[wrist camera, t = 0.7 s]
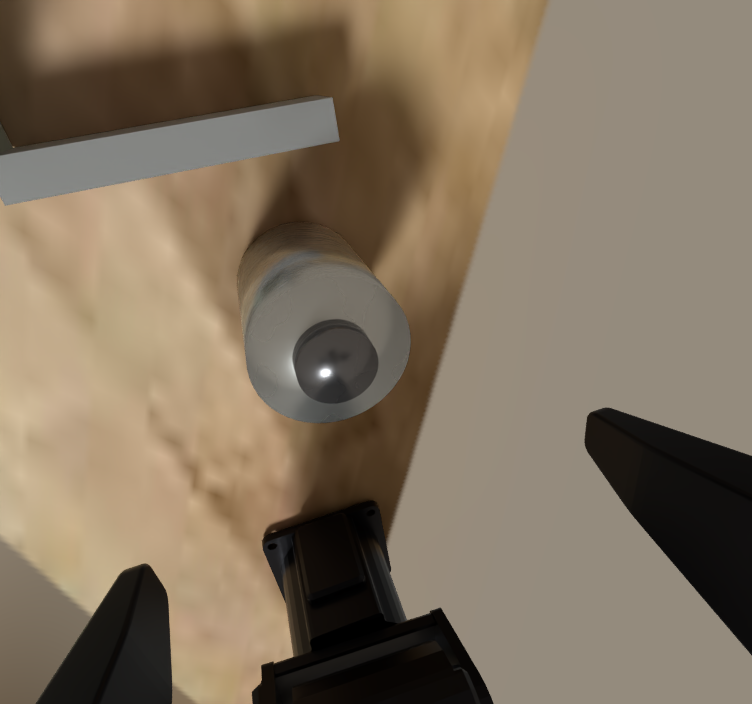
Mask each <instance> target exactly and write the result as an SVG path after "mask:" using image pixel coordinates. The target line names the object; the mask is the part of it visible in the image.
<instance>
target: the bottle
mask: <svg viewBox="0 0 752 704" xmlns="http://www.w3.org/2000/svg"><path fill="white" fill-rule="evenodd" d="M237 290H238V299H239V307H240V315H241V323H242V331H243V339H244V347H245V355H246V363H247V370H248V374H249V378H250V380H251V383H252V385H253V387H254V389H255V390H256V392H257V394H258V395H259V396H260V397H261V399H262V400H263V401H264V402H265V403H266V404H267V405H269V406H270V407H271V408H272V409H274V410H275V411H277V412H278V413H280V414H282V415H284V416H286V417H289V418H292V419H295V420H298V421H303V422H310V423H328V422H336V421H340V420H344V419H348V418H350V417H353V416H356V415H358V414H360V413H362V412H364V411H366V410H368V409H369V408H371V407H373V406H374V405H375V404H377V403H378V402H379V401H381V400H382V399H383V398H384V397H385V396H386V395H387V394H388V393H389V392H390V391H391V390H392V389H393V387H394V386H395V385H396V383H397V382H398V380H399V379H400V377H401V375H402V373H403V372H404V370H405V367H406V364H407V362H408V358H409V353H410V345H411V337H410V329H409V324H408V322H407V319H406V316H405V314H404V312H403V310H402V308H401V307H400V306H399V304H398V303H397V302H396V300H395V299H394V298H393V297H392V295H391V294H390V293H389V292H388V291H387V289H386V288H385V287H384V286H383V285H382V284H381V282H380V281H379V280H378V279H377V278H376V276H375V275H374V274H373V273H372V272H371V270H370V269H369V268H368V267H367V266H366V264H365V263H364V262H363V261H362V260H361V258H360V257H359V256H358V255H357V254H356V252H355V251H354V250H353V249H352V248H351V246H350V245H349V244H348V243H347V242H346V241H345V240H344V239H343V238H342V237H341V236H340V235H338V234H337V233H336V232H334V231H333V230H331V229H329V228H327V227H324V226H322V225H319V224H315V223H309V222H292V223H286V224H283V225H279V226H277V227H274V228H272V229H270V230H268V231H267V232H265V233H263V234H262V235H261V236H259V237H258V238H257V239H256V240H255V241H254V242H253V243H252V244H251V245H250V247H249V248H248V249H247V251H246V252H245V254H244V256H243V258H242V260H241V263H240V266H239V269H238V274H237Z"/></svg>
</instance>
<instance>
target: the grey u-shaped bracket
mask: <svg viewBox="0 0 752 704" xmlns="http://www.w3.org/2000/svg"><path fill="white" fill-rule="evenodd" d="M337 141H340V140H339V134H338V128H337V122H336V116H335V110H334V104H333V97H326V96H319V95H315V96H310V97H304V98H298V99H292V100H286V101H281V102H275V103H269V104H263V105H258V106H252V107H246V108H240V109H235V110H229V111H223V112H217V113H211V114H206V115H200V116H194V117H188V118H183V119H177V120H171V121H165V122H160V123H154V124H148V125H142V126H136V127H131V128H125V129H119V130H113V131H108V132H102V133H96V134H90V135H85V136H79V137H73V138H67V139H61V140H56V141H50V142H44V143H38V144H33V145H27V146H21V147H15V148H13V146H12V144H11V143H10V141H9V139H8V137H7V135H6V133H5V131H4V129H3V127H2V125H1V123H0V197H1V199H2V201H3V203H4V205H5V206H6V205H11V204H16V203H21V202H26V201H31V200H37V199H42V198H47V197H52V196H57V195H63V194H68V193H73V192H78V191H83V190H88V189H94V188H99V187H104V186H109V185H114V184H120V183H125V182H130V181H135V180H140V179H146V178H151V177H156V176H161V175H166V174H171V173H177V172H182V171H187V170H192V169H197V168H203V167H208V166H213V165H218V164H223V163H228V162H234V161H239V160H244V159H249V158H254V157H260V156H265V155H270V154H275V153H280V152H286V151H291V150H296V149H301V148H306V147H311V146H317V145H322V144H327V143H332V142H337Z"/></svg>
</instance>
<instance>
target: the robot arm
mask: <svg viewBox="0 0 752 704" xmlns="http://www.w3.org/2000/svg"><path fill="white" fill-rule="evenodd" d="M585 447H586V449H587V452H588V453H589V455H590V456H591V458H592V459H593V460H594V462H595V463H596V465H597V466H598V468H599V469H600V471H601V472H602V473H603V475H604V476H605V478H606V479H607V480H608V482H609V483H610V485H611V486H612V488H613V489H614V491H615V492H616V493H617V495H618V496H619V498H620V499H621V501H622V502H623V503H624V505H625V506H626V507H627V509H628V510H629V512H630V513H631V514H632V515H633V517H634V518H635V519H636V520H637V521H638V522H639V524H640V525H641V526H642V527H643V528H644V530H645V531H646V532H647V533H648V534H649V536H650V537H651V538H652V539H653V540H654V541H655V543H656V544H657V545H658V546H659V547H660V548H661V550H662V551H663V552H664V553H665V554H666V555H667V557H668V558H669V559H670V560H671V561H672V562H673V564H674V565H675V566H676V567H677V568H678V570H679V571H680V572H681V573H682V574H683V575H684V577H685V578H686V579H687V580H688V581H689V582H690V584H691V585H692V586H693V587H694V588H695V589H696V591H697V592H698V593H699V594H700V595H701V596H702V598H703V599H704V600H705V601H706V602H707V604H708V605H709V606H710V607H711V608H712V609H713V611H714V612H715V613H716V614H717V615H718V616H719V617H720V619H721V620H722V621H723V622H724V623H725V625H726V626H727V627H728V628H729V629H730V630H731V631H732V633H733V634H734V635H735V636H736V637H737V639H738V640H739V641H740V642H741V643H742V645H743V646H744V647H745V648H746V649H747V650H748V651H749V653H750V654H751V655H752V456H750V455H747V454H745V453H741V452H738V451H736V450H733V449H730V448H727V447H724V446H721V445H718V444H715V443H712V442H709V441H706V440H703V439H700V438H697V437H694V436H691V435H689V434H685V433H683V432H680V431H677V430H673V429H671V428H668V427H665V426H662V425H659V424H656V423H653V422H650V421H647V420H644V419H641V418H638V417H635V416H632V415H629V414H627V413H624V412H620V411H618V410H614V409H612V408H602V409H599V410H596V411H593V412H591V413H590V414H589V415H588V417H587V423H586V432H585ZM271 543H273V544H271ZM262 545H263V551H264V553H265V556H266V558H267V560H268V563H269V565H270V567H271V570H272V572H273V574H274V577H275V579H276V581H277V584H278V586H279V588H280V591H281V593H282V596H283V598H284V600H285V603H286V607H287V614H288V621H289V628H290V635H291V642H292V649H293V656H294V657H292V658H289V659H286V660H283V661H280V662H277V663H274V662H270V663H266V664H263V665H261V670H262V681H261V684H260V685H258V686H257V687H256V688H255V689H254V690H253V691H252V701H253V704H493V701H492V698H491V696H490V694H489V691H488V690H487V687H486V685H485V683H484V681H483V679H482V677H481V675H480V673H479V672H478V670H477V668H476V667H475V665H474V663H473V662H472V660H471V658H470V657H469V655H468V653H467V651H466V650H465V648H464V646H463V645H462V643H461V641H460V640H459V638H458V636H457V634H456V633H455V631H454V629H453V628H452V626H451V624H450V623H449V621H448V619H447V618H446V616H445V614H444V613H443V611H442V609H441V608H438V609H435V610H432V611H430V613H429V614H426V615H423V616H420V617H416V618H414V619H410V620H407V619H406V616H405V614H404V611H403V608H402V606H401V603H400V600H399V597H398V594H397V592H396V589H395V586H394V583H393V580H392V578H391V575H390V572H391V566H390V561H389V556H388V551H387V546H386V541H385V536H384V531H383V526H382V521H381V516H380V510H379V508H378V505H377V503H376V502H375V501H367V502H364V503H361V504H358V505H355V506H352V507H349V508H346V509H343V510H340V511H338V512H335V513H332V514H329V515H326V516H323V517H320V518H317V519H314V520H311V521H308V522H305V523H302V524H299V525H296V526H293V527H290V528H287V529H284V530H281V531H278V532H275V533H272V534H269V535H267V536H266V537H264V538H263V540H262ZM36 704H172V669H171V648H170V627H169V606H168V597H167V593H166V590H165V588H164V586H163V585H162V583H161V582H160V580H159V579H158V577H157V576H156V574H155V572H154V571H153V569H152V568H151V567H150V565H148V564H141V565H138V566H135V567H132V568H129V569H126V570H124V571H123V572H122V573H121V574H120V575H119V576H118V578H117V579H116V581H115V582H114V584H113V585H112V587H111V588H110V590H109V591H108V593H107V595H106V596H105V598H104V599H103V601H102V602H101V604H100V605H99V607H98V608H97V610H96V611H95V613H94V615H93V616H92V618H91V619H90V621H89V622H88V624H87V625H86V627H85V629H84V630H83V632H82V633H81V635H80V636H79V638H78V639H77V641H76V642H75V644H74V646H73V647H72V649H71V650H70V652H69V653H68V655H67V656H66V658H65V659H64V661H63V662H62V664H61V666H60V667H59V669H58V670H57V672H56V673H55V675H54V676H53V678H52V679H51V681H50V682H49V684H48V685H47V687H46V688H45V690H44V692H43V693H42V695H41V696H40V698H39V699H38V701H37V702H36Z"/></svg>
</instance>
